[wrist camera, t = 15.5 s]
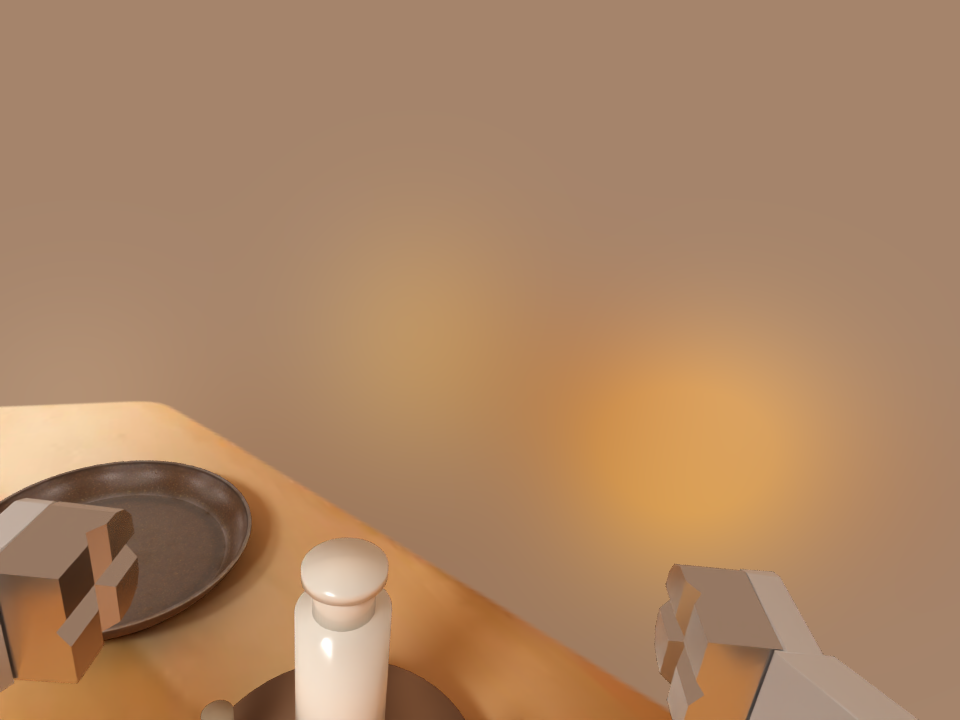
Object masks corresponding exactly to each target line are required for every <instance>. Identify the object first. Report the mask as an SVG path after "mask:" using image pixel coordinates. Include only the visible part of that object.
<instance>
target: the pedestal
mask: <svg viewBox="0 0 960 720" xmlns="http://www.w3.org/2000/svg"><path fill="white" fill-rule="evenodd" d="M201 720H295V669H294V670H291V671H289V672H286V673H284V674H281V675H279V676H277V677H275V678H273V679H271V680H269V681H268V682H266V683H264V684H263V685H261V686H260V687H258V688H256V689H255V690H253V691H252V692H251V693H249V694H248V695H247V696H245V697H244V698H243V699H242V700H240V701H239V702H238V703H237V704H236V705H235V706H234V707H233V706H232V705H231V703H229V702H228V701H224V700H218V701H214V702H212V703H210V704H208V705H207V706H206V707H205V708H204V709H203V711H202V713H201ZM385 720H465V719H464V718H463V716H462V715H461V713H460V712H459V710H458V709H457V708H456V707H455V705H454V704H453V703H452V702H451V701H450V700H449V698H448V697H446V696H445V695H444V694H443V693H442V692H441V691H440V690H439V689H437V688H436V687H435V686H433V685H432V684H431V683H429V682H428V681H426V680H425V679H423V678H421V677H419V676H417V675H416V674H414V673H412V672H410V671H407V670H405V669H402V668H399V667H397V666H393V665H390V664H388V678H387V693H386V708H385Z"/></svg>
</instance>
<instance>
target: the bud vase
mask: <svg viewBox="0 0 960 720" xmlns="http://www.w3.org/2000/svg"><path fill="white" fill-rule="evenodd" d="M387 578H388V559H387V557H386V555H385V553H384V552H383V551H382V550H381V549H380V548H379V547H378V546H376V545H375V544H373V543H371V542H369V541H366V540H362V539H357V538H337V539H332V540H328V541H325V542H323V543H321V544H319V545H317V546H315V547H314V548H312V549H311V550H310V551H309V552H308V553H307V554H306V556H305V557H304V559H303V561H302V564H301V583H302V587H303V588H304V590H305V591H304V592H303V593H302V594H301V596H300V597H299V599H298V601H297V603H296V606H295V612H294V614H295V720H385V708H386V693H387V678H388V663H389V647H390V632H391V617H392V603H391V599H390V597H389V595H388V593H387V592H386V590H385V589H384V587H385V585H386V582H387Z"/></svg>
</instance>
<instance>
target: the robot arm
mask: <svg viewBox="0 0 960 720" xmlns="http://www.w3.org/2000/svg"><path fill="white" fill-rule="evenodd" d="M133 534H134V527H133V521H132V515H131V514H130V513H129V512H127V511H126V510H125V509H118V508H110V507H102V506H93V505H85V504H77V503H69V502H61V501H59V502H55V501H49V500H40V499H31V498H24V499H20V500H17V501H14V502H13V503H12V504H11V505H10V506H9V507H8V508H6V509H5V510H4V511H3V512H2V513H1V514H0V692H1V691H3V690H4V689H6V688H7V687H9V686H10V685H12V684H13V683H14V679H15V680H30V681H46V682H61V683H76V684H78V682H79V681H80V679H81V678H82V677H83V675H84V674H85V672H86V671H87V669H88V668H89V666H90V665H91V664H92V662H93V661H94V659H95V658H96V656H97V655H98V653H99V652H100V650H101V649H102V648H103V646H104V643H103V636H102V632H103V631H105V630H106V629H108V628H110V627H112V626H113V625H115V624H117V623H118V622H120V621H121V620H122V618H123V617H124V615H125V614H126V612H127V610H128V609H129V607H130V606H131V603H132V600H133V597H134V594H135V592H136V589H137V585H138V575H139V566H138V557H137V556H136V555H135V554H134V553H133V551H132V550H131V549H130V548H129V547H128V546H127V545H126V543H127V542H128V541H129V539H130V538H131V537H132V535H133ZM666 588H667V591H668V594H669V598H670V600H669V601H668V602H666V603H665V604H664V605H663V606H662V607H660V608H659V613H658V617H657V621H656V626H655V652H656V660H657V664H658V668H659V672H660V674H661V675H662V676H663V677H664V678H665V679H666V680H667V681H668V682H669V683H670V684H671V686H670V689H669V693H668V697H667V702H668V706H669V710H670V714H671V717H672V720H918V719H917V718H916V717H914V716H913V715H912V714H910V713H909V712H908V711H906V710H905V709H904V708H902V707H901V706H900V705H898V704H897V703H896V702H894V701H893V700H892V699H890V698H889V697H888V696H886V695H885V694H884V693H882V692H881V691H880V690H878V689H877V688H876V687H874V686H873V685H872V684H870V683H869V682H868V681H866V680H865V679H864V678H862V677H861V676H860V675H858V674H857V673H856V672H854V671H853V670H852V669H850V668H849V667H848V666H846V665H845V664H844V663H842V662H841V661H840V660H839V659H837V658H836V657H835V656H826V655H823V653H822V651H821V649H820V648H819V646H818V644H817V642H816V640H815V639H814V637H813V635H812V633H811V631H810V630H809V628H808V626H807V624H806V622H805V621H804V619H803V617H802V615H801V613H800V612H799V610H798V608H797V606H796V604H795V603H794V601H793V599H792V597H791V596H790V594H789V592H788V590H787V588H786V587H785V585H784V583H783V581H782V579H781V578H780V576H778V575H777V574H776V573H775V572H772V571H758V570H744V569H740V570H732V569H721V568H711V567H700V566H690V565H679V564H674V565H673V566H672V568H671V570H670V571H669V575H668V578H667V582H666Z"/></svg>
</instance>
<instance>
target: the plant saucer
mask: <svg viewBox="0 0 960 720" xmlns="http://www.w3.org/2000/svg"><path fill="white" fill-rule="evenodd" d="M24 498H31V499H40V500H49V501H55V502H59V501H61V502H69V503H77V504H85V505H93V506H102V507H110V508H118V509H125V510H126V511H127V512H129V513H130V514H131V515H132V521H133V527H134V534H133V535H132V537H131V538H130V539H129V541H128V542H127V543H126V545H127V546H128V547H129V548H130V549H131V550H132V551H133V553H134V554H135V555H136V556H137V557H138V566H139V575H138V585H137V589H136V592H135V594H134V597H133V600H132V603H131V606H130V607H129V609H128V610H127V612H126V614H125V615H124V617H123V618H122V620H121V621H120V622H118V623H117V624H115V625H113V626H112V627H110V628H108V629H106V630H105V631H103V632H102V636H103V640H106V639H111V638H115V637H120V636H124V635H127V634H131V633H134V632H137V631H140V630H143V629H146V628H149V627H151V626H154V625H156V624H158V623H161V622H163V621H165V620H167V619H169V618H171V617H173V616H175V615H176V614H178V613H180V612H182V611H183V610H185V609H186V608H188V607H189V606H191V605H193V604H194V603H195V602H197V601H198V600H200V599H201V598H202V597H204V596H205V595H206V594H207V593H208V592H209V591H211V590H212V589H213V588H214V587H215V586H216V585H217V584H218V583H219V582H220V581H221V580H222V579H223V578H224V577H225V576H226V575H227V573H228V572H229V571H230V570H231V569H232V567H233V566H234V565H235V563H236V562H237V560H238V559H239V557H240V556H241V554H242V552H243V551H244V549H245V547H246V545H247V542H248V540H249V536H250V532H251V513H250V509H249V506H248V503H247V502H246V500H245V498H244V496H243V495H242V494H241V492H240V491H239V490H238V489H237V488H236V487H235V486H234V485H233V484H231V483H230V482H228V481H227V480H225V479H224V478H222V477H221V476H219V475H217V474H214V473H212V472H210V471H207V470H205V469H202V468H198V467H195V466H190V465H186V464H181V463H175V462H166V461H140V460H139V461H127V462H124V461H122V462H113V463H106V464H99V465H94V466H90V467H85V468H80V469H76V470H73V471H69V472H65V473H62V474H59V475H56V476H53V477H50V478H47V479H45V480H42V481H40V482H37V483H35V484H32V485H30V486H28V487H26V488H24V489H22V490H20V491H18V492H16V493H14V494H12V495H10V496H9V497H7V498H5V499H4V500H2V501H0V514H1V513H2V512H3V511H4V510H5V509H6V508H8V507H9V506H10V505H11V504H12V503H13V502H14V501H17V500H20V499H24Z"/></svg>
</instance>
